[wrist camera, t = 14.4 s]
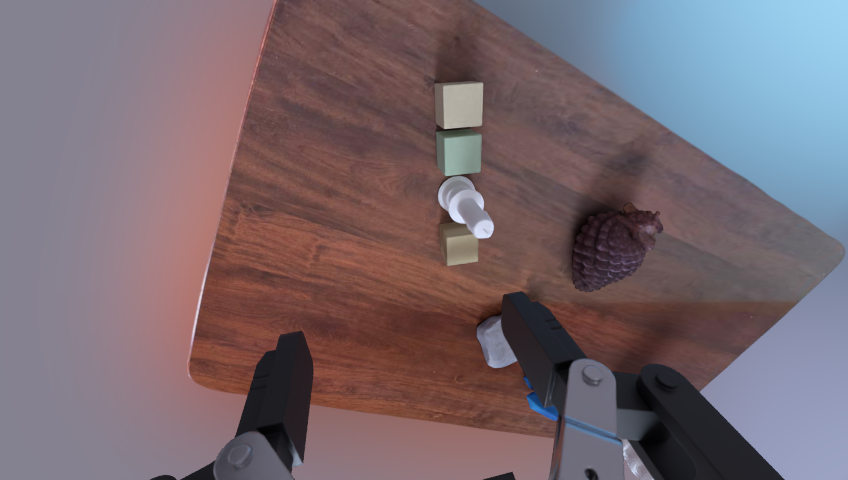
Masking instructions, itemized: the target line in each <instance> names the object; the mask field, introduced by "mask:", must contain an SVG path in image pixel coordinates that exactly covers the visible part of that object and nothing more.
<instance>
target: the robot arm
mask: <svg viewBox="0 0 848 480" xmlns="http://www.w3.org/2000/svg"><path fill="white" fill-rule="evenodd" d="M501 328H502V332H503V335H504V337H505V339H506V341H507V342H508V344H509V346H510V348H511V350H512V351H513V353H514V355H515V357H516V359H517V360H518V362H519V364H520V366H521V368H522V369H523V371H524V373H525V375H526V377H527V378H528V380H529V382H530V384H531V386H532V387H533V389H534V391H535V393H536V394H537V396H538V398H539V400H540V402H541V403H542V405H543V407H544V408H547V407H551V406H555V408H556V409H557V411H558V417H557V424H556V432H555V439H554V447H553V454H552V462H551V468H550V474H549V479H548V480H625V479H624V452H623V443H622V440H621V439H627V440H628V442H629V443H630V445H631V446H632V448H633V449H634V451H635V452H636V454H637V455H638V457H639V458H640V460H641V461H642V463H643V464H644V466H645V467H646V469H647V470H648V472H649V473H650V475H651V476H652V478H653V479H654V480H784V479H783V478H782V477H781V476H780V475H779V473H778V472H777V471H776V470H775V469H774V468H773V467H772V466H771V465H770V464H769V463H768V462H767V461H766V460H765V459H764V458H763V457H762V456H761V455H760V454H759V453H758V452H757V451H756V450H755V449H754V448H753V447H752V446H751V445H750V444H749V443H748V442H747V441H746V440H745V439H744V438H743V437H742V436H741V435H740V433H738V431H736V429H735V428H734V427H733V426H732V425H731V424H730V423H729V422H728V421H727V420H726V419H725V418H724V417H723V416H722V415H721V414H720V413H719V412H718V411H717V410H716V409H715V408H714V407H713V406H712V405H711V404H710V403H709V402H708V401H707V400H706V399H705V398H704V397H703V396H702V395H701V394H700V392H699V391H698V390H697V389H696V388H695V387H694V386H693V385H692V384H691V383H690V382H689V381H688V380H687V379H686V378H685V377H684V376H683V375H681V374H680V373H679V372H677V371H675V370H674V369H672V368H669V367H667V366H664V365H660V364H649V365H646V366H644V367H643V368H642V369H641V372H640V374H630V373H618V372H612V371H610V370H609V369H608V368H607V367H606V366H605V365H603V364H601V363H600V362H597V361H595V360H592V359H588V358H587V357H586V355H585V354H584V353H583V352H582V350H581V349H580V348H579V347H578V345H577V344H576V343H575V342H574V340H573V339H572V338H571V337H570V335H569V334H568V333H567V332H566V330H565V329H564V328H562V325H561V324H560V323H559V321H558V320H556V318H555V316H554V315H553V314H552V313H551V311H550V310H549V309H548V308H546V307H545V306H543V305H542V304H540V303H539V302H537V301H536V302H531V301H530V300H529V299H528V297H527V296H526V295H525V293H524V292H522V291H520V292H515V293H509V294H504V295H503V300H502V313H501ZM312 382H313V361H312V357H311V354H310V351H309V348H308V345H307V342H306V339H305V336H304V334H303V332H302V331H298V332H292V333H287V334H281V335H280V337H279V340H278V344H277V348H276V350H273V351H268V352H266V353H265V355H264V356H263V357H262V359H261V360H260V361H259V363H258V364H257V366H256V370H255V373H254V376H253V380H252V383H251V386H250V391H249V393H248V396H247V400H246V403H245V406H244V410H243V413H242V416H241V420H240V423H239V426H238V429H237V433H236V435H235V438H234V439H232V440H231V441H230V442H229V443H227V444H226V446H225V447H224V448H223V449H222V450H221V452H220V453H219V455H218V456H217V458H216V460H215V461H213V462H212V463H211V464H209V465H207V466H205V467H204V468H202V469H200V470H198V471H196V472H194V473H192V474H190V475H189V476H186V477H185V478H183V479H181V480H295V479H294V478H293V477H292V475H291V471H292V467H296V466H299V465H303V460H304V451H305V442H306V434H307V425H308V416H309V408H310V399H311V390H312ZM618 438H619V439H618ZM151 480H176V479H175V478H174V477H173V476H170V475H162V476H158V477H155V478H152V479H151ZM484 480H515V477H514V475H513V472H510V473H506V474H503V475H499V476H495V477H491V478H487V479H484Z"/></svg>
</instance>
